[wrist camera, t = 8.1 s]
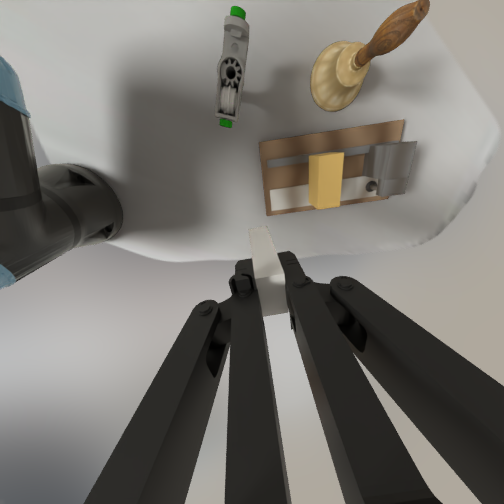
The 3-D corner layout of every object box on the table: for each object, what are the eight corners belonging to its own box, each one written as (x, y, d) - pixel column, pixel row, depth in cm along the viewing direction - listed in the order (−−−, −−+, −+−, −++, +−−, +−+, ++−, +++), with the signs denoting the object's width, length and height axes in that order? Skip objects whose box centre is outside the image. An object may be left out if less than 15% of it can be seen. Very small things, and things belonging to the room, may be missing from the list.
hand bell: (315, 40, 27) (388, -77, 13) (371, 42, 28) (500, -70, 14) (306, 110, 31) (355, 78, 17) (355, 112, 32) (443, 81, 17)
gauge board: (266, 213, 39) (270, 227, 32) (258, 142, 33) (262, 140, 26) (383, 197, 38) (414, 207, 31) (397, 120, 32) (440, 112, 25)
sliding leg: (307, 201, 36) (317, 209, 31) (307, 155, 32) (319, 156, 27) (326, 198, 36) (339, 206, 31) (328, 152, 32) (344, 152, 27)
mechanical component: (250, 54, 28) (252, 9, 19) (238, 134, 32) (236, 128, 24) (230, 48, 27) (223, 0, 19) (221, 130, 32) (212, 122, 23)
